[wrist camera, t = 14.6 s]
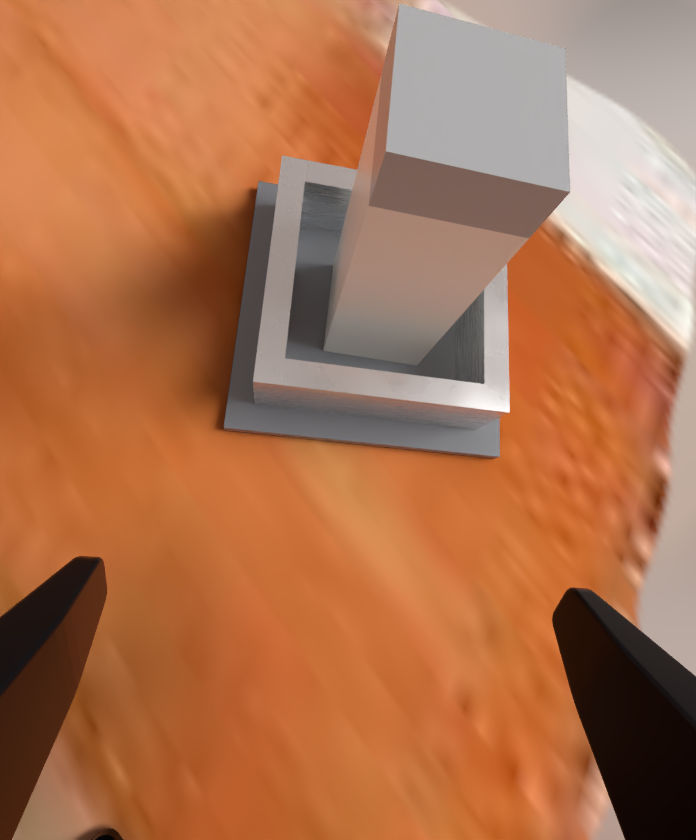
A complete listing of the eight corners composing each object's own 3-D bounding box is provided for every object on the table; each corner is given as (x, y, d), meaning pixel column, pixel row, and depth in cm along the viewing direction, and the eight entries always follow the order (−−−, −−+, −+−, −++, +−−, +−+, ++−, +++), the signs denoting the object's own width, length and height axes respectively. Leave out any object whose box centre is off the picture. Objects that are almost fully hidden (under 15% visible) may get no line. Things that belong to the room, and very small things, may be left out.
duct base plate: (494, 458, 25) (499, 456, 24) (224, 430, 23) (223, 427, 22) (492, 231, 28) (496, 224, 28) (258, 188, 26) (258, 181, 26)
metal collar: (476, 429, 24) (509, 412, 21) (254, 404, 23) (253, 381, 19) (476, 240, 27) (505, 198, 24) (279, 205, 26) (282, 155, 22)
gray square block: (416, 365, 25) (570, 191, 12) (323, 350, 24) (385, 151, 12) (422, 281, 26) (565, 48, 14) (333, 265, 25) (399, 3, 13)
